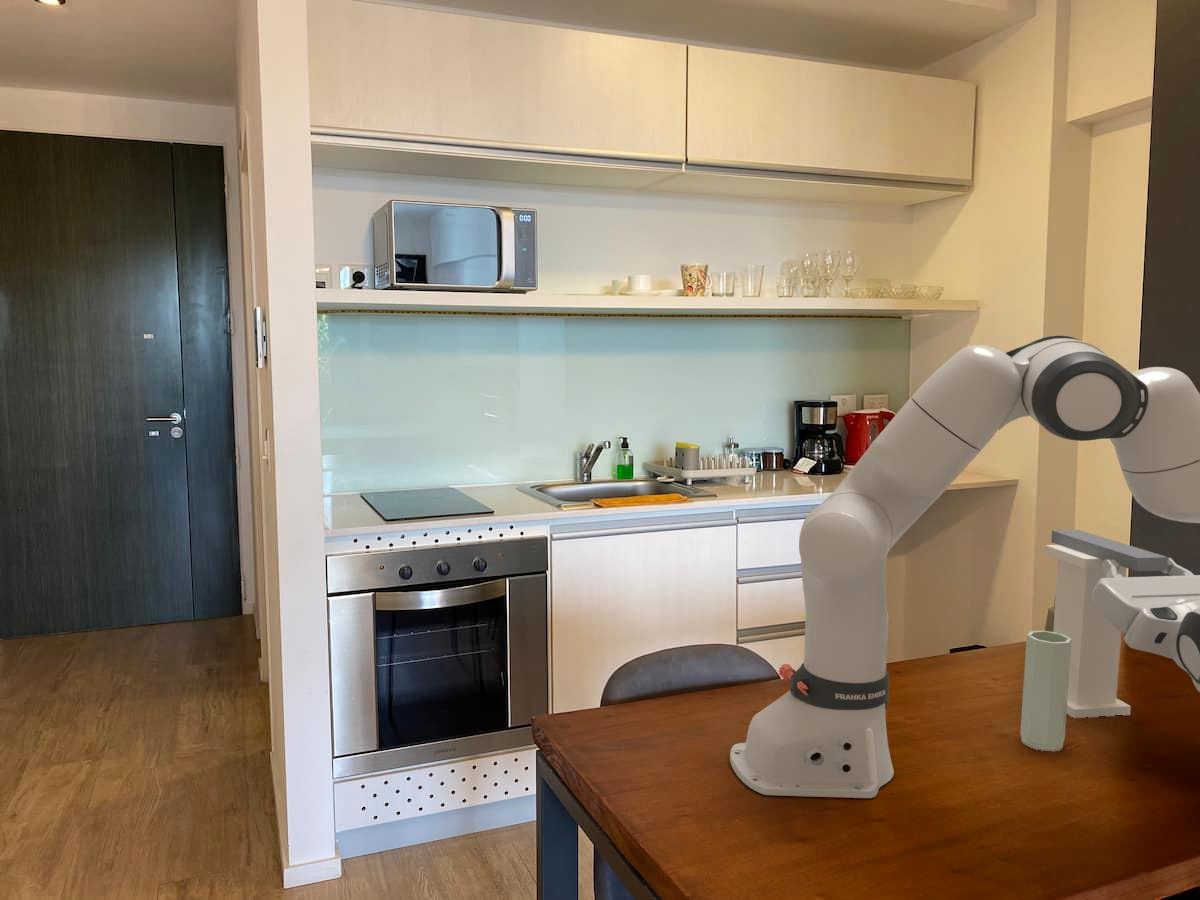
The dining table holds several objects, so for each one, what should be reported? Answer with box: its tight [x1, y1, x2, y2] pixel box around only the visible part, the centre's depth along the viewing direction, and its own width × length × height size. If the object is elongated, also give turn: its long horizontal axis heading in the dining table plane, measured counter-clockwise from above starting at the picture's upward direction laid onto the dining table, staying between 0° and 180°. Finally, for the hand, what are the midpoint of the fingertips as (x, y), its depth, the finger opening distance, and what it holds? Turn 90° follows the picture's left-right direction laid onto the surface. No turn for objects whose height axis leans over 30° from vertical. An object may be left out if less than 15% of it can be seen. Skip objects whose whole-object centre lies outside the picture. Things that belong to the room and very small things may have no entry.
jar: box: [1019, 630, 1072, 753], centre depth 136 cm, size 6×6×16 cm
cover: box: [1050, 529, 1169, 572], centre depth 146 cm, size 5×20×2 cm, turn 9°
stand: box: [1044, 544, 1132, 719], centre depth 150 cm, size 10×10×26 cm
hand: (1135, 561), depth 139 cm, fingers open, 8 cm apart
